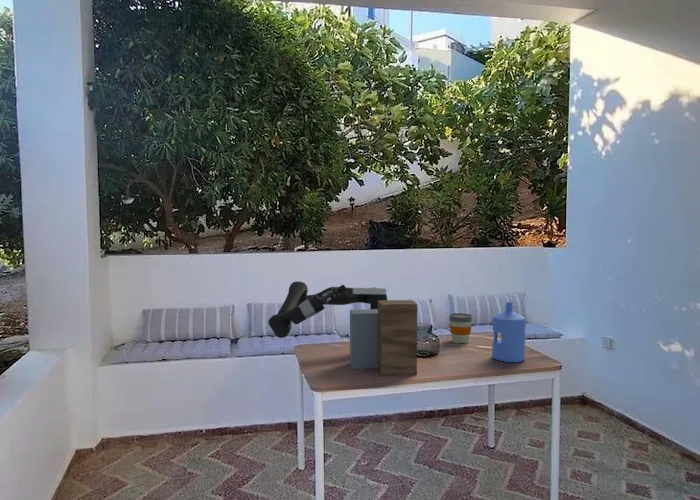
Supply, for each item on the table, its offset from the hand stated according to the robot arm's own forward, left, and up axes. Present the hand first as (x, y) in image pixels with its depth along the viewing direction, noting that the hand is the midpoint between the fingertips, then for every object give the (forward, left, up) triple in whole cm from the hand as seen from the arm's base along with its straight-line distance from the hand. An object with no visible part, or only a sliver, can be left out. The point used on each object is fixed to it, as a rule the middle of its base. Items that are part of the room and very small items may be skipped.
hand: (344, 286), depth 234 cm
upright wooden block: (-1, +24, -40) cm, 46 cm away
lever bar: (0, +6, -3) cm, 7 cm away
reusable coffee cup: (-52, +70, -40) cm, 96 cm away
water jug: (-16, +83, -40) cm, 93 cm away
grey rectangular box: (-12, +14, -40) cm, 44 cm away
